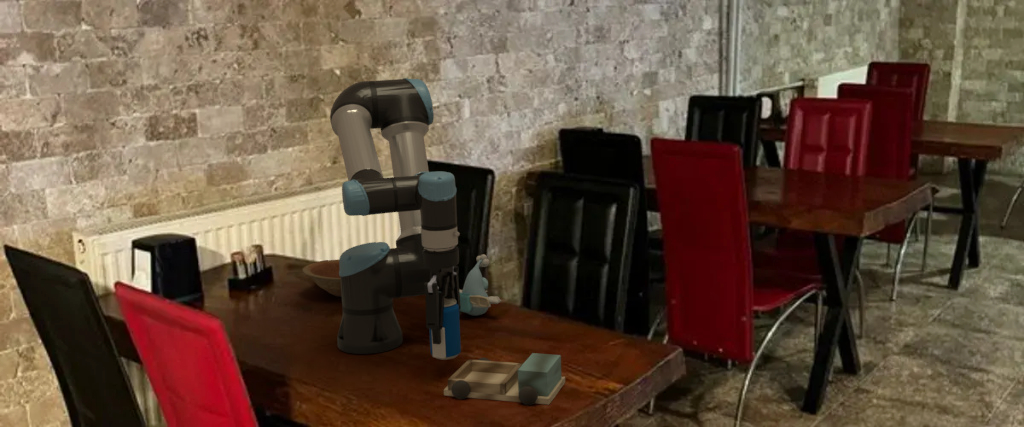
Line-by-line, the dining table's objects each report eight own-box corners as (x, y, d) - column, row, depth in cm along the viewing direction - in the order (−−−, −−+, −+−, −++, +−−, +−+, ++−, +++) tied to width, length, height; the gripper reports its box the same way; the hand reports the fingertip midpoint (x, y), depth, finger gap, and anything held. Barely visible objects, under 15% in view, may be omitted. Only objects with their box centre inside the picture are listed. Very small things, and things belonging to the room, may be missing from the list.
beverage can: (430, 350, 216) (427, 297, 213) (460, 348, 216) (458, 296, 213) (430, 361, 209) (427, 307, 207) (461, 360, 210) (459, 305, 207)
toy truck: (441, 397, 199) (440, 368, 198) (467, 372, 213) (465, 344, 211) (547, 407, 192) (546, 376, 191) (566, 380, 206) (565, 351, 205)
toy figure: (515, 314, 251) (512, 257, 248) (487, 325, 243) (484, 266, 240) (466, 304, 262) (463, 249, 259) (438, 314, 254) (435, 257, 251)
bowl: (385, 304, 265) (383, 275, 263) (296, 307, 265) (293, 278, 264) (396, 280, 288) (394, 253, 286) (314, 283, 289) (312, 256, 287)
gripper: (439, 260, 197) (445, 369, 202) (473, 235, 215) (477, 336, 220) (404, 258, 199) (411, 366, 205) (441, 234, 217) (446, 334, 223)
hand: (445, 350), depth 213 cm, fingers closed on beverage can, 6 cm apart
